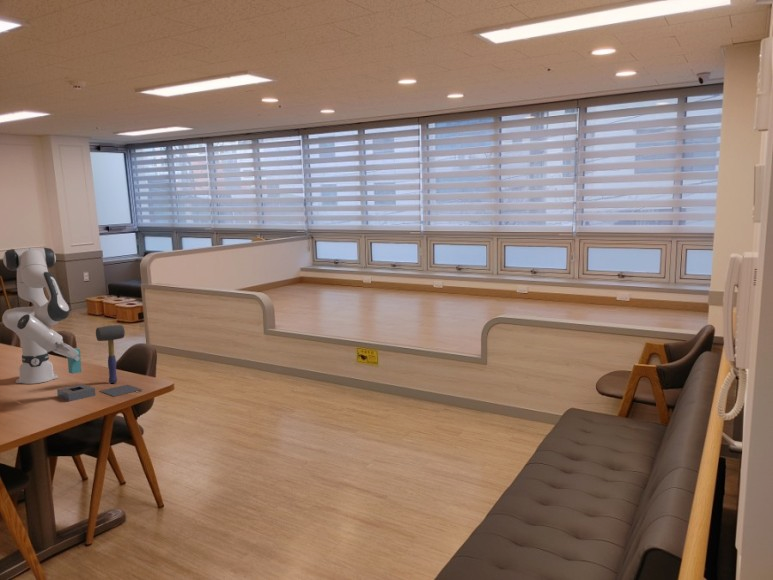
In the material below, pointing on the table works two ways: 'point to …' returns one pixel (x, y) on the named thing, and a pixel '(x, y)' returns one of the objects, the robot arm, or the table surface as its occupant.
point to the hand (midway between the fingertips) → (75, 358)
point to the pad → (120, 390)
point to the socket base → (76, 392)
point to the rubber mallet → (110, 345)
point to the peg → (74, 364)
